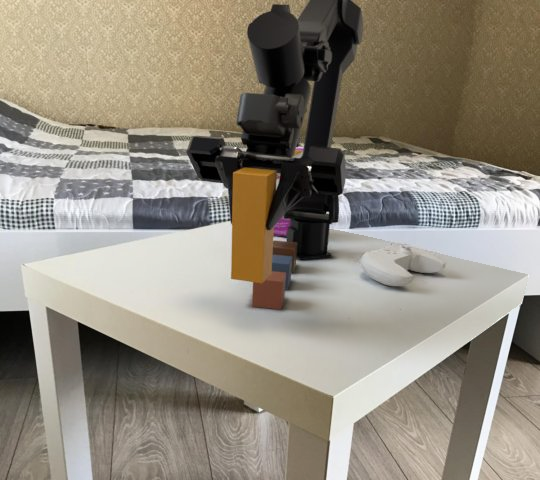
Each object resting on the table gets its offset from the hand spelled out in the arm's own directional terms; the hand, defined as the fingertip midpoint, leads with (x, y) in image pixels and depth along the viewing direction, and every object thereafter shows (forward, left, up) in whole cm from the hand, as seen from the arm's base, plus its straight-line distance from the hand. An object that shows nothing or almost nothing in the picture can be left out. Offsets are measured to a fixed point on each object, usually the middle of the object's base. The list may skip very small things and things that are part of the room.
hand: (249, 226), depth 67 cm
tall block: (-1, -1, -7) cm, 7 cm away
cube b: (-10, -13, -13) cm, 21 cm away
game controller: (-31, -11, -13) cm, 36 cm away
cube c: (-6, -7, -13) cm, 16 cm away
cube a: (-15, -20, -13) cm, 28 cm away
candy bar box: (-22, -40, -13) cm, 48 cm away
